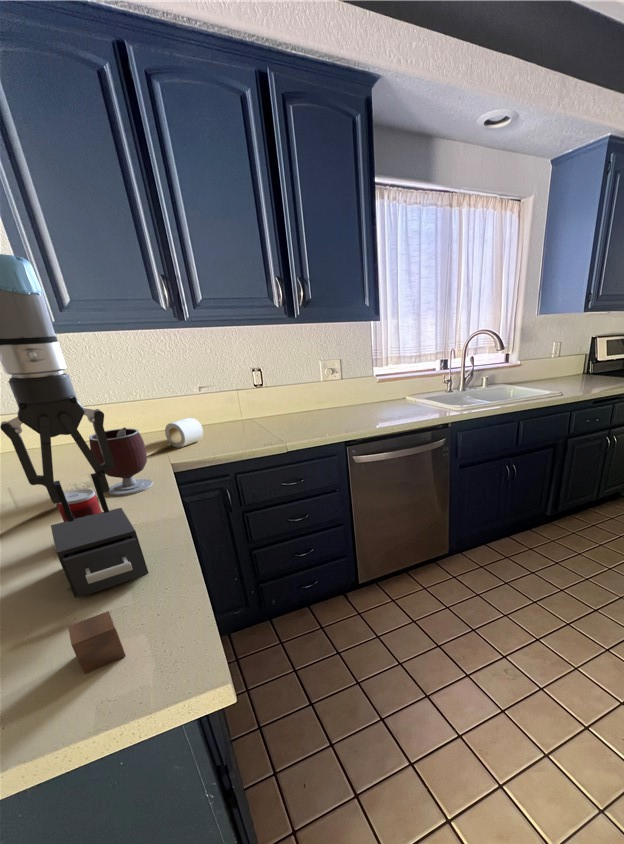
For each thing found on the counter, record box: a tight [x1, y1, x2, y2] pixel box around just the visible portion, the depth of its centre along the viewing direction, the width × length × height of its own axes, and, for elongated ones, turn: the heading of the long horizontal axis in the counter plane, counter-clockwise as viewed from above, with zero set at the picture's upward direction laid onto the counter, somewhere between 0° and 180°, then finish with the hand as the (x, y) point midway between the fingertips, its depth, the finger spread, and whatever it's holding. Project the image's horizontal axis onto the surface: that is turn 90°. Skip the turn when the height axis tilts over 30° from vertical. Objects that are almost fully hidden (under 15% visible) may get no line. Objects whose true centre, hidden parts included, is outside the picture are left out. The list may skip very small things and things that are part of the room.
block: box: [67, 610, 127, 675], centre depth 65 cm, size 6×6×6 cm
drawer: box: [63, 537, 147, 598], centre depth 83 cm, size 18×12×8 cm, turn 39°
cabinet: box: [50, 507, 149, 598], centre depth 87 cm, size 15×13×10 cm
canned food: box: [56, 488, 103, 522], centre depth 100 cm, size 8×8×11 cm
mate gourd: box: [88, 426, 153, 497], centre depth 128 cm, size 16×14×20 cm
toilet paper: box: [164, 417, 204, 449], centre depth 175 cm, size 10×10×10 cm
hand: (88, 514), depth 74 cm, fingers open, 4 cm apart
